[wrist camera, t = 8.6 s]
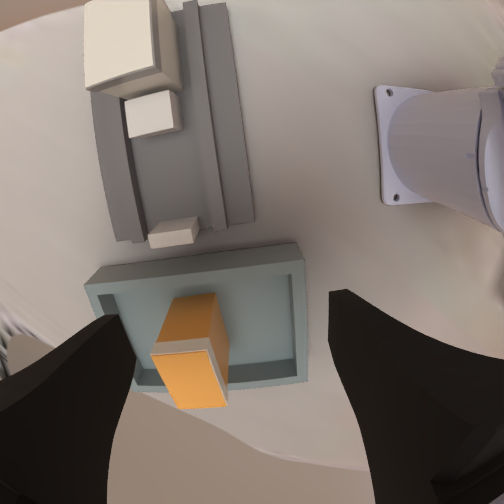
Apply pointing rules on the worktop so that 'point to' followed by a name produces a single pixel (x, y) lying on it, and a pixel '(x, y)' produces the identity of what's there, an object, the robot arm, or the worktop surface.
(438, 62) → the worktop surface
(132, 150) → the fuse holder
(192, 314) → the block
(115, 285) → the slate tray
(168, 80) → the cream rectangular block
